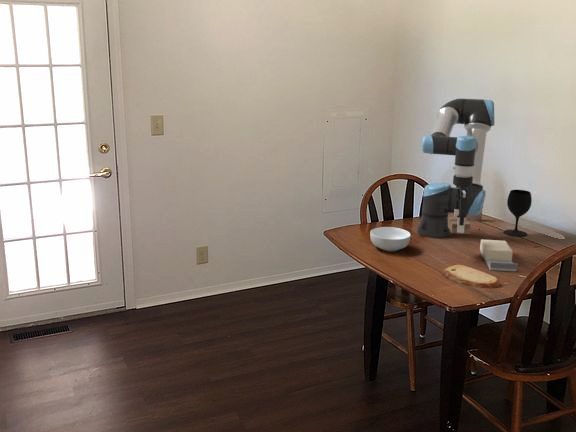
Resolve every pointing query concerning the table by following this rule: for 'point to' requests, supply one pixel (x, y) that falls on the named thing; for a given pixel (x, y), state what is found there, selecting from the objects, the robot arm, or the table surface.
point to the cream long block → (497, 255)
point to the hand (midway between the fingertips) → (458, 228)
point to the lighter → (474, 217)
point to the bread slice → (470, 276)
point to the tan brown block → (453, 225)
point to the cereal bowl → (390, 238)
